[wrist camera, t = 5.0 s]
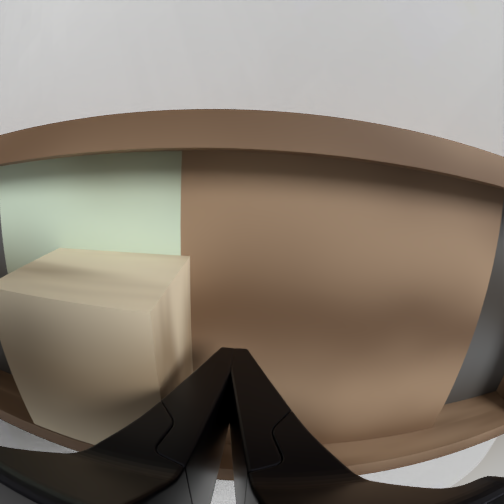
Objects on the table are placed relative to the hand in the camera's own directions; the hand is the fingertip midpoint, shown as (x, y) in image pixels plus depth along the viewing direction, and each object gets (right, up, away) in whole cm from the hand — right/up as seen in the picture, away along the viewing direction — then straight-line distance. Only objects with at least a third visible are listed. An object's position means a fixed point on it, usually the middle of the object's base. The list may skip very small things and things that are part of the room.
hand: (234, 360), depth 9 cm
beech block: (-4, +1, +1) cm, 4 cm away
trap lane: (0, +1, +3) cm, 4 cm away
